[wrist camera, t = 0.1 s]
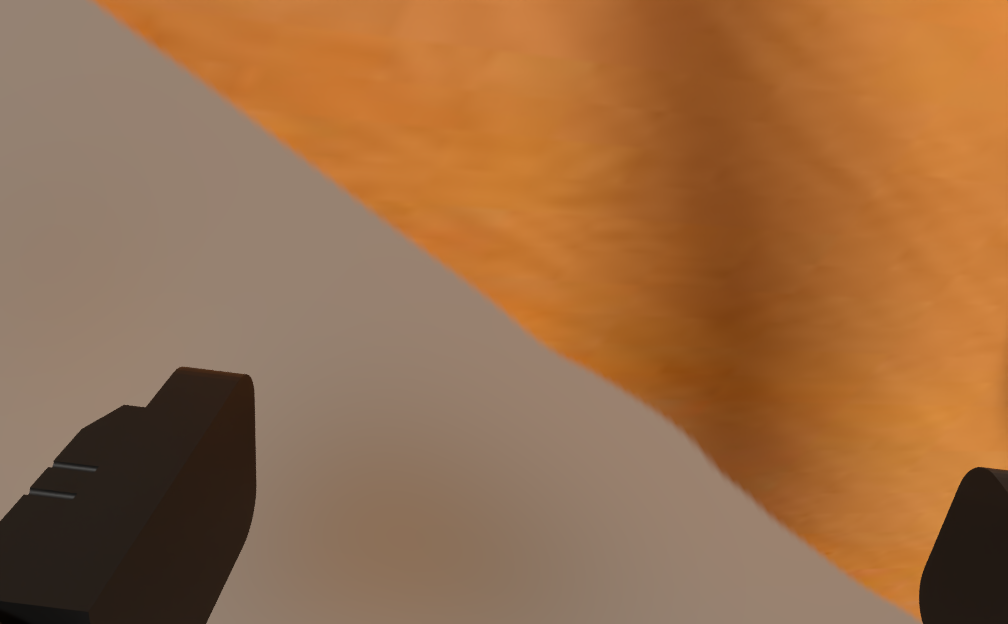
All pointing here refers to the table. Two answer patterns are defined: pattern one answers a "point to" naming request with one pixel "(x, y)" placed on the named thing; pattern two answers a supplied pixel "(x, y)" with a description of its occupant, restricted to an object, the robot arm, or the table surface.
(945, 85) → the table surface
